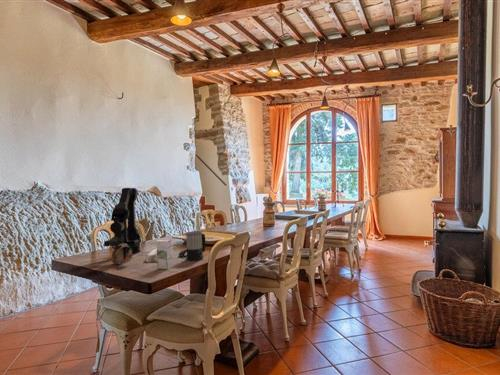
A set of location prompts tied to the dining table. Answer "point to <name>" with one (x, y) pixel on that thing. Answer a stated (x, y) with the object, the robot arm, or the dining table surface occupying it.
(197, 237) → the milk frother
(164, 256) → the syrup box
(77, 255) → the dining table surface
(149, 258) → the pale block
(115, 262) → the tin
